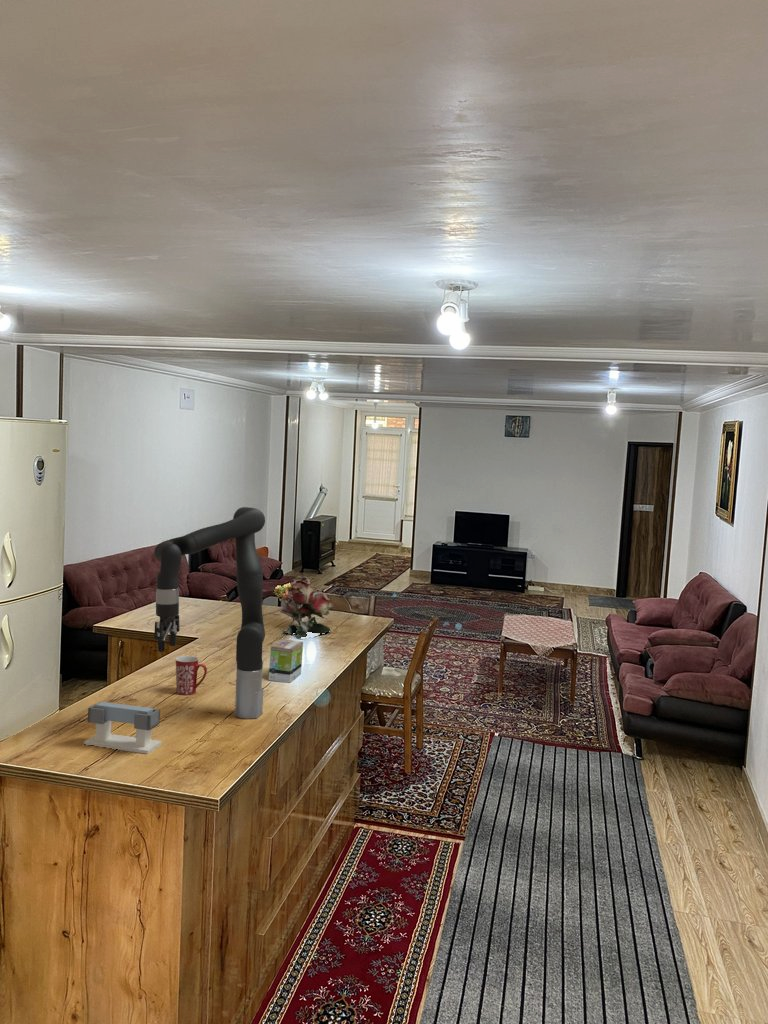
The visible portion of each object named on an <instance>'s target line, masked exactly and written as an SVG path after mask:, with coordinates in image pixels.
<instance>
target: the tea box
mask: <svg viewBox="0 0 768 1024" xmlns="http://www.w3.org/2000/svg"><path fill="white" fill-rule="evenodd" d="M303 649H304V641H302V640H301V641H300V640H299V641H298V640H292V639H290V640H289V639H280V640H279V641H277V642H275V643H274V644H272V645H271V646H270V655H269V656H270V657H269V667H268V681H272V682H279V683H286V682H287V683H292V681H293V680H296V678H298V677H299V676H301V675H302V666H303Z"/></svg>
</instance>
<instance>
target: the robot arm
mask: <svg viewBox="0 0 768 1024" xmlns="http://www.w3.org/2000/svg"><path fill="white" fill-rule="evenodd" d="M265 523H266V517H265V515H264V513H263V511H261V510H260V509H259V508H256V507H247V506H241V507H240V508H237V510H236V511H235V512H234V514H233V517H232V519H230V520H227V521H225V522H222V523H218V524H214V525H210V526H207V527H202V528H199V529H197V530H194V531H192V532H189V533H187V534H185V535H182V536H178V537H175V538H170V539H167V540H163V541H161V542H159V543H158V544H157V545H156V547H155V548H154V551H153V554H154V557H155V559H156V560H157V561H159V562H160V571H158V572H157V575H156V592H155V615H156V616H157V617H159V621H154V634H153V635H154V637H153V638H154V640H155V641H157V651H158V652H159V653H164V652H165V651H166V638H167V636H168V634H169V637H168V645H169V646H170V647H175V646H176V645H177V635H178V633H179V632H180V630H181V629H180V615H179V612H180V592H179V574H180V568H181V563H182V557H183V556H184V555H194V554H196V553H199V552H201V551H203V550H206V549H208V548H211V547H213V546H216V545H218V544H222V543H223V542H226V541H230V540H231V539H234V541H235V551H236V553H235V559H236V560H235V562H236V590H237V594H238V598H239V599H238V600H239V603H240V607H241V625H240V629H239V631H238V633H237V635H236V648H235V649H236V651H235V654H236V655H235V659H236V660H235V661H236V676H235V679H236V680H235V697H234V701H235V702H234V716H235V717H237V718H240V719H247V720H248V719H258V718H259V717H260V716H261V715H262V714H263V709H264V708H263V705H264V688H263V687H262V685H263V684H262V683H263V668H264V661H263V643H264V641H265V637H266V630H265V624H264V616H263V593H264V591H263V588H264V586H263V585H264V584H263V583H264V582H263V581H264V579H263V577H264V576H263V574H264V573H263V567H262V563H261V559H260V557H259V553H258V552H257V548H256V542H255V541H256V539H255V537H256V533H259V532H260V531H261V530H262V529H263V528H264V527H265Z"/></svg>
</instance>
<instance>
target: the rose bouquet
mask: <svg viewBox="0 0 768 1024" xmlns="http://www.w3.org/2000/svg"><path fill="white" fill-rule="evenodd" d="M286 592H288V593H287V595H286V596H285V597H283V600H282V602H281V609H280V611H279V613H281V614H284V615H286V616H288V617H290V618H291V619H292V620H291V622H290V624H288V625H287V629H288V630H287V629H286V630H287V631H284V630H283V631H282V632H283V633H288V634H287V635H290V634H293V633H298V634H296V635H295V636H293V637H294V638H297V637H298V639H299V638H301V637H306V636H307V634H306V633H307V632H312V633H320V634H322V633H326V632H328V633H330V632H331V628H330V627H328V626H327V625H325V624H323V623H320V622H319V623H318V622H317V620H316V616H317V617H319V618H321V619H326V620H328V618H326V617H324V616H328V615H330V609H332V608H334V604H333V602H331V601H330V600H331V599H330V598H328V595H327V593H325V592H322V591H316V587H314V586H313V584H312V582H311V580H310V579H309V578H308V576H299V575H298V576H297V577H295V578H293V582H291V583H290V587H289V586H288V587H287V588H286ZM312 615H313V616H312ZM306 617H307V619H306V620H305V621H303V620H302V619H304V618H306ZM295 621H296V622H297V625H296V624H293V623H294V622H295ZM329 631H330V632H329Z"/></svg>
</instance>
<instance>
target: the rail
mask: <svg viewBox="0 0 768 1024" xmlns="http://www.w3.org/2000/svg"><path fill="white" fill-rule="evenodd" d="M99 702H100V703H99ZM99 702H97V703H98V704H97V703H95V704H96V705H95V704H94V705H95V708H99V709H105V710H104V720H108V721H111V722H118V723H123V724H124V723H125V724H131V725H134V714H135V713H137V714H145V715H149V714H151V713H153V709H154V708H152V707H144V706H138V705H129V704H122V703H114V702H107V701H105V702H104V701H99Z"/></svg>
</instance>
